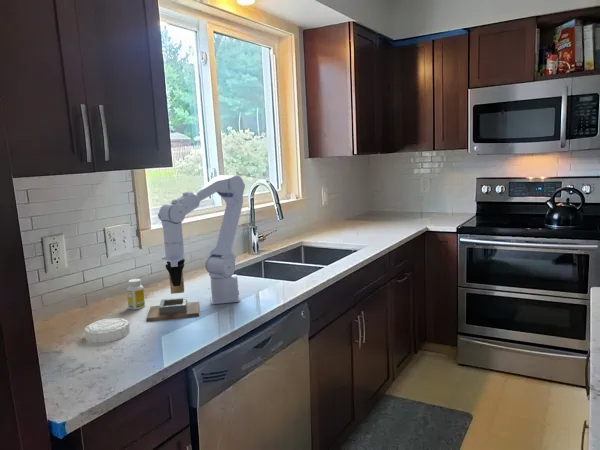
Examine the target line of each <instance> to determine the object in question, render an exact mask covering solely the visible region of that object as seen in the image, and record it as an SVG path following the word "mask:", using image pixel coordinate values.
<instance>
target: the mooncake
mask: <svg viewBox="0 0 600 450" xmlns="http://www.w3.org/2000/svg"><path fill="white" fill-rule="evenodd" d="M83 331H84V337H85V342H86V341H87V342H89V343H94V344H96V343H99V344H102V343H109V342H113V341H117V340H121V339H123V338H124V337H127V336H128V335H129V333H130V331H131V329H130V322H129V320H127V319H125V318H119V317H115V318H104V319H99V320H97V321H94V322H92V323H89V324H88V325H86V327H85V328H84V330H83Z"/></svg>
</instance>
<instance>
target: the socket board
mask: <svg viewBox="0 0 600 450" xmlns="http://www.w3.org/2000/svg"><path fill="white" fill-rule="evenodd" d="M199 316H200V301H194V302H188V297H176V298H165V299H160V303H159V305H152V306H150V308H149V310H148V313H147V316H146V322H152V321H164V320H173V319H181V318H191V317H199Z"/></svg>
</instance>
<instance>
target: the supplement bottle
mask: <svg viewBox="0 0 600 450" xmlns="http://www.w3.org/2000/svg"><path fill="white" fill-rule="evenodd" d="M127 282H128V286H127V288H126V294H127V295H126V296H127V307H128V309H129V310H140V309H143V308H145V306H146V303H145V291H144V286H143V285H142V280H141V279H140V278H132V279H129V280H128V281H127Z"/></svg>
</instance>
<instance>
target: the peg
mask: <svg viewBox="0 0 600 450" xmlns="http://www.w3.org/2000/svg"><path fill="white" fill-rule="evenodd" d="M168 274H169V273H168ZM168 276H169V277H168V278H169V285H170V287H169V288H170V294H171V295H172V294H173V295H174V294H182V293H185V284H184V283H185V281H184V279H185V278H184V269H183V270H182V275H181V284H180V286H173V284H172V280H171V277H170V274H169V275H168Z"/></svg>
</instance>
